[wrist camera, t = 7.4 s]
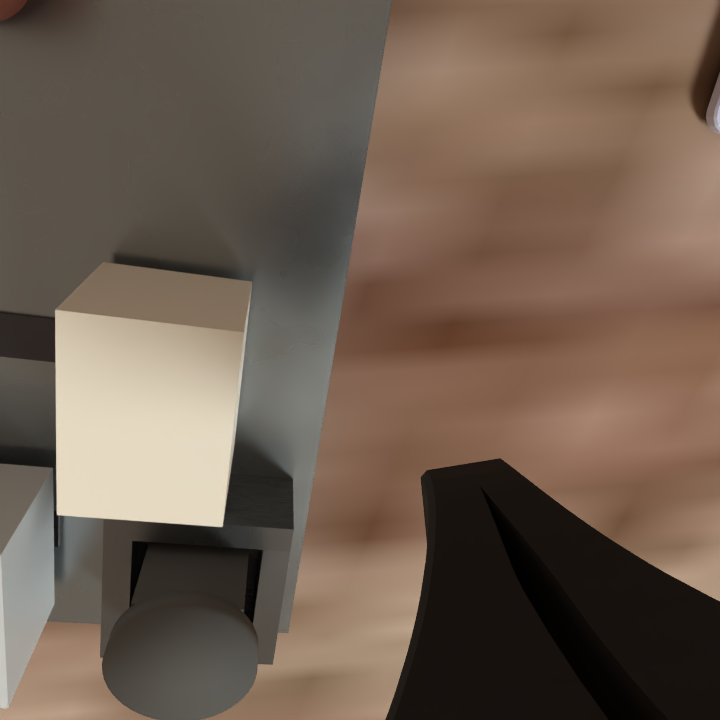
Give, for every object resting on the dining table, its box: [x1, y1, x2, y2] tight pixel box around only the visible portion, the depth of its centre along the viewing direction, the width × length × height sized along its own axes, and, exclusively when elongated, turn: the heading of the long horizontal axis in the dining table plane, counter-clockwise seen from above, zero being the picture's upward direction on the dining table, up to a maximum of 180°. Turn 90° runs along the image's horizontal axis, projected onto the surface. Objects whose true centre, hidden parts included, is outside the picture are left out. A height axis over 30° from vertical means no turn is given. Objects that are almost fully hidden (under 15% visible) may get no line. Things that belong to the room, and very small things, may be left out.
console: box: [0, 0, 392, 665], centre depth 12 cm, size 14×26×4 cm, turn 170°
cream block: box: [55, 262, 252, 527], centre depth 13 cm, size 3×4×3 cm
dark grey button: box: [102, 542, 259, 720], centre depth 14 cm, size 3×3×3 cm
